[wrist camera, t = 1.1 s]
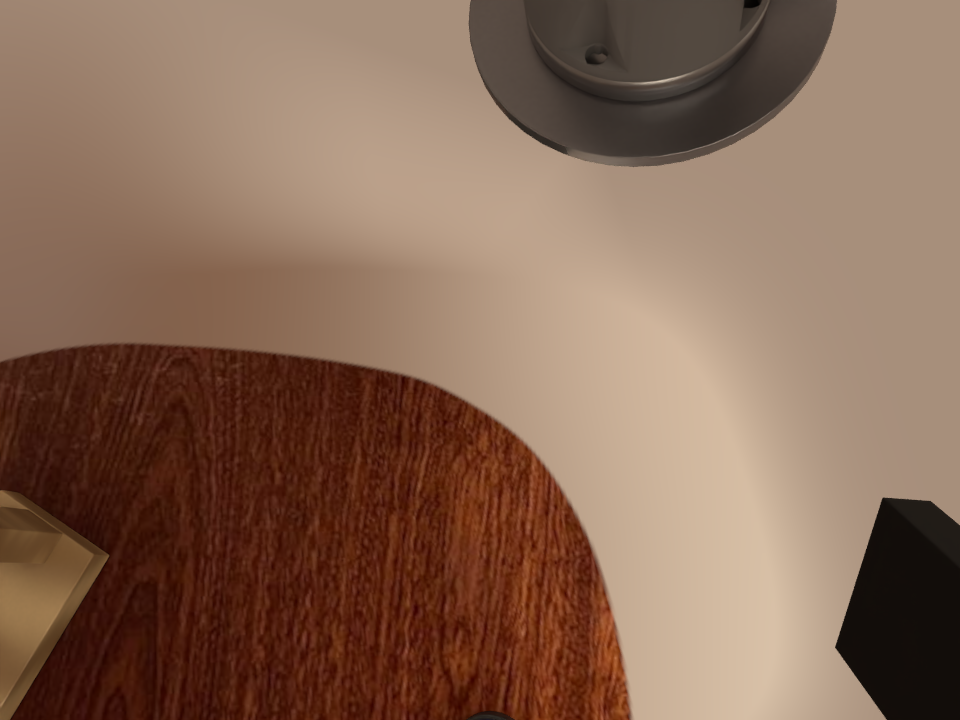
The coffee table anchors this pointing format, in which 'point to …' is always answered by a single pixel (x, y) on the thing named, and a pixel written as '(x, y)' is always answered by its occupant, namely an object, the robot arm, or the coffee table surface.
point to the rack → (36, 590)
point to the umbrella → (490, 716)
